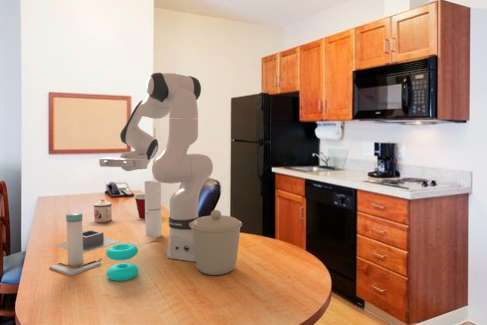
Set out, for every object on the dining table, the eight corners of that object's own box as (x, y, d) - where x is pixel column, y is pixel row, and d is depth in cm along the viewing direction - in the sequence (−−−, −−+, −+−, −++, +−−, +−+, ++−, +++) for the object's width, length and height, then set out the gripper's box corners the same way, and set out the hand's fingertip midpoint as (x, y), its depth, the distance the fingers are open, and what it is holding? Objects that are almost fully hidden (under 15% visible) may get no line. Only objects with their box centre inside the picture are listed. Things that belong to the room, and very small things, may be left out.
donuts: (143, 247, 122) (114, 254, 115) (144, 276, 122) (115, 285, 116) (129, 240, 129) (100, 246, 122) (129, 268, 130) (101, 276, 123)
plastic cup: (142, 220, 199) (142, 198, 198) (130, 217, 205) (129, 195, 204) (158, 216, 208) (158, 195, 207) (146, 213, 214) (145, 193, 213)
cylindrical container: (157, 238, 166) (156, 183, 164) (142, 237, 167) (141, 182, 165) (164, 233, 173) (163, 180, 171) (149, 232, 174) (148, 180, 172)
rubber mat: (101, 264, 133) (101, 262, 133) (70, 275, 123) (70, 273, 123) (80, 258, 139) (80, 256, 139) (49, 268, 129) (49, 266, 129)
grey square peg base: (121, 244, 157) (120, 231, 156) (83, 256, 141) (82, 242, 141) (93, 237, 166) (93, 225, 165) (55, 248, 151) (55, 235, 150)
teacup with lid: (90, 220, 197) (90, 199, 196) (106, 217, 204) (105, 196, 203) (102, 224, 190) (102, 202, 189) (118, 221, 197) (117, 199, 196)
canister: (215, 257, 141) (215, 202, 139) (252, 268, 130) (252, 209, 128) (179, 271, 127) (178, 210, 125) (217, 285, 116) (217, 219, 114)
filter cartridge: (86, 263, 132) (85, 214, 130) (73, 268, 127) (72, 217, 126) (77, 260, 134) (76, 212, 133) (64, 265, 130) (62, 214, 128)
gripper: (108, 153, 170) (91, 156, 156) (150, 154, 167) (137, 157, 153) (108, 167, 170) (92, 170, 157) (150, 168, 168) (137, 172, 154)
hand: (114, 164), depth 155 cm, fingers open, 8 cm apart
